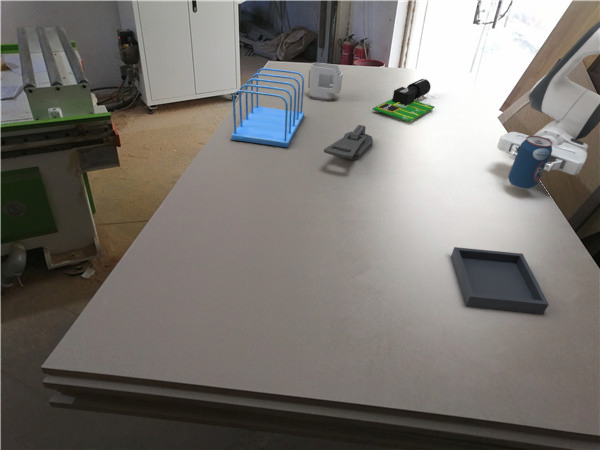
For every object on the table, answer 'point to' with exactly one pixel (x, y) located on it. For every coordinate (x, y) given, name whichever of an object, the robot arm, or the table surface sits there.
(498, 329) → the table surface
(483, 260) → the tray
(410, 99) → the circuit board with cylinder
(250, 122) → the file sorter
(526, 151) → the soda can
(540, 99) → the robot arm
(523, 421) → the table surface
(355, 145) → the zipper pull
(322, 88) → the cable organizer
